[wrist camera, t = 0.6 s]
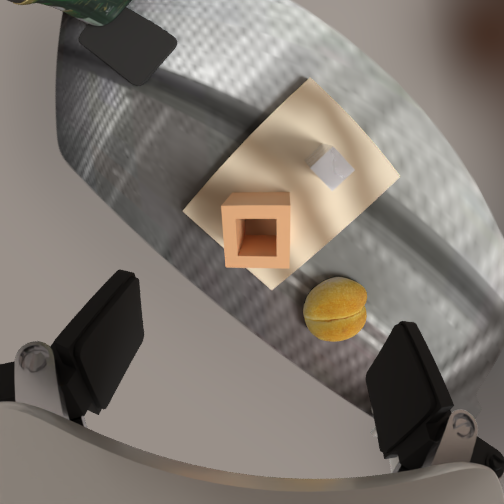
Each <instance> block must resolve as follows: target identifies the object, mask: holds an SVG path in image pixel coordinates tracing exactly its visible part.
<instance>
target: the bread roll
mask: <svg viewBox="0 0 504 504" xmlns="http://www.w3.org/2000/svg"><path fill="white" fill-rule="evenodd" d="M366 300H367V292H366V290H365V288H364V287H363V286H362V285H360V284H359V283H357V282H355V281H353V280H350V279H347V278H343V277H334V278H330V279H327V280H325V281H323V282H321V283H320V284H318V285H317V286H316V287H314V288H313V289H312V291H311V292H310V293H309V294H308V296H307V298H306V301H305V303H304V308H303V314H304V318H305V322H306V325H307V327H308V329H309V330H310V332H311V333H312V334H313V335H314V336H316V337H317V338H319V339H321V340H324V341H342V340H346V339H348V338H351V337H353V336H354V335H356V334H357V333H358V332H359V331H360V330H361V329H362V328H363V326H364V324H365V321H366V309H365V306H364V305H365V303H366Z"/></svg>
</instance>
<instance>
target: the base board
mask: <svg viewBox="0 0 504 504" xmlns="http://www.w3.org/2000/svg"><path fill="white" fill-rule="evenodd" d="M322 143H323V144H327V145H331V146H333V147H334V148H335V149H336V150H337V151H338V152H339V153H340V154H341V155H342V156H343V157H344V158H345V160H346V161H347V162H348V163H349V164H350V165H351V166H352V167H353V168H354V170H355V171H353V172H352V173H351V174H350V175H349V176H348V177H347V178H346V179H345V180H344V181H343V182H342V183H341V184H340V185H338V186H337V187H336V188H335V189H334V190H333V191H331V189H330V188H329V187H328V186H327V185H326V184H325V183H324V182H323V181H322V180H321V179H320V178H319V177H318V176H317V175H316V174H315V173H314V172H313V171H312V170H311V169H310V167H309V166H308V165H307V163H306V162H305V161H304V160H305V159H306V158H308V157H309V156H310V155H311V154H312V153H313V152H314V151H315V150H316V149H317V148H318V147H319V146H320V145H321V144H322ZM399 177H400V175H399V174H398V172H397V171H396V170H395V168H394V167H393V166H392V165H391V163H390V162H389V161H388V160H387V158H386V157H385V156H384V155H383V153H382V152H381V151H380V150H379V148H378V147H377V146H376V145H375V144H374V143H373V141H372V140H371V139H370V138H369V137H368V136H367V134H366V133H365V132H364V131H363V130H362V129H361V128H360V127H359V125H358V124H357V123H356V122H355V121H354V120H353V119H352V118H351V117H350V116H349V115H348V114H347V113H346V112H345V111H344V109H343V108H342V107H341V106H340V105H339V104H338V103H337V102H336V101H335V100H334V99H333V98H332V97H331V96H330V95H328V94H327V93H326V92H325V91H324V90H323V89H322V88H321V87H320V86H319V85H318V84H317V83H316V82H315V81H314V80H312V79H311V78H309V79H308V80H307V81H306V82H304V83H303V84H302V85H301V86H300V87H299V88H298V89H297V90H296V91H295V92H294V93H293V94H292V95H290V96H289V97H288V98H287V99H286V100H285V101H284V102H283V103H282V104H281V105H280V106H279V107H278V108H277V109H276V110H275V111H274V112H273V113H272V114H271V115H270V116H269V117H268V118H267V119H266V120H265V121H264V122H263V123H262V124H261V125H260V126H259V127H258V128H257V129H256V130H255V131H254V132H253V133H252V134H251V135H250V136H249V137H248V138H247V139H246V140H245V141H244V142H243V143H242V144H241V145H240V147H239V148H238V149H237V150H236V151H235V152H234V153H233V154H232V155H231V156H230V157H229V158H228V159H227V161H226V162H225V163H224V164H223V165H222V166H221V167H220V168H219V169H218V170H217V172H216V173H215V174H214V175H213V176H212V177H211V178H210V179H209V181H208V182H207V183H206V184H205V185H204V186H203V187H202V189H201V190H200V191H199V192H198V193H197V194H196V196H195V197H194V198H193V199H192V200H191V202H190V203H189V204H188V205H187V206H186V207H185V209H184V210H183V212H184V213H185V214H186V215H187V216H188V217H190V218H191V219H192V220H193V221H194V222H195V223H196V224H197V225H199V226H200V227H201V228H202V229H203V230H204V231H205V232H206V233H207V234H209V235H210V236H211V237H212V238H213V239H214V240H215V241H216V242H218V243H219V244H220V245H221V246H222V247H223V248H224V239H223V226H222V212H221V205H222V204H223V203H224V202H225V201H226V199H227V198H228V197H229V196H230V195H231V194H232V193H234V192H290V205H291V210H290V267H289V269H282V268H247V269H248V270H249V271H250V272H251V273H253V274H254V275H255V276H256V277H257V278H258V279H259V280H261V281H262V282H263V283H264V284H265V285H266V286H267V287H269V288H270V289H271V290H273V289H274V288H275V287H276V286H278V285H279V284H280V283H281V282H282V281H284V280H285V279H286V278H287V277H288V276H290V275H291V274H292V273H293V272H294V271H295V270H297V269H298V268H299V267H300V266H301V265H303V264H304V263H305V262H306V261H307V260H308V259H310V258H311V257H312V256H313V255H314V254H315V253H317V252H318V251H319V250H320V249H321V248H322V247H323V246H325V245H326V244H327V243H328V242H329V241H330V240H331V239H333V238H334V237H335V236H336V235H337V234H338V233H339V232H341V231H342V230H343V229H344V228H345V227H346V226H347V225H348V224H350V223H351V222H352V221H353V220H354V219H355V218H356V217H357V216H358V215H360V214H361V213H362V212H363V211H364V210H365V209H366V208H367V207H368V206H369V205H371V204H372V203H373V202H374V201H375V200H376V199H377V198H378V197H379V196H380V195H381V194H382V193H383V192H385V191H386V190H387V189H388V188H389V187H390V186H391V185H392V184H393V183H394V182H395V181H396V180H397V179H398V178H399ZM245 234H246V235H277V219H245Z"/></svg>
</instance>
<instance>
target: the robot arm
mask: <svg viewBox="0 0 504 504" xmlns="http://www.w3.org/2000/svg"><path fill="white" fill-rule="evenodd" d="M143 338H144V329H143V320H142V310H141V299H140V286H139V279H138V278H136V277H135V274H134V273H132V272H128V271H124V270H118V271H117V272H116V273H115V274H114V275H113V276H112V277H111V278H110V279H109V280H108V281H107V282H106V283H105V284H104V285H103V286H102V287H101V288H100V289H99V290H98V292H97V293H96V294H95V295H94V296H93V297H92V298H91V299H90V300H89V301H88V302H87V303H86V305H85V306H84V307H83V308H82V309H81V311H79V312H78V314H77V315H76V316H75V317H74V318H73V319H72V320H71V322H70V323H69V324H68V325H67V326H66V328H65V329H64V330H63V331H62V332H61V333H60V335H59V336H58V337H57V338H56V339H55V341H54V342H53V344H52V345H51V346H49V345H47V344H46V343H43V342H39V341H38V342H30V343H27V344H26V345H24V346H22V347H21V348H20V349H19V351H18V352H17V354H16V357H15V361H14V362H10V363H5V364H0V504H504V457H503V456H502V454H501V453H500V452H499V451H498V450H497V449H495V448H494V447H492V446H491V445H489V444H488V443H486V442H485V441H483V440H482V439H480V438H479V437H477V433H478V427H477V423H476V420H475V418H474V417H473V416H472V415H471V414H470V413H469V412H467V411H465V410H460V409H459V410H455V411H454V412H453V413H451V411H450V409H451V408H452V407H453V406H454V404H453V402H452V399H451V397H450V394H449V392H448V390H447V387H446V385H445V383H444V380H443V378H442V376H441V374H440V371H439V369H438V367H437V365H436V363H435V361H434V358H433V356H432V354H431V352H430V350H429V348H428V346H427V344H426V342H425V340H424V338H423V336H422V334H421V332H420V330H419V329H418V327H417V325H416V323H414V322H406V321H401V322H399V324H397V325H395V326H394V328H393V329H392V331H391V333H390V335H389V337H388V338H387V340H386V342H385V344H384V345H383V347H382V349H381V351H380V352H379V354H378V356H377V357H376V359H375V360H374V362H373V364H372V365H371V367H370V368H369V370H368V372H367V374H366V383H367V388H368V392H369V396H370V401H371V409H372V413H373V416H374V420H375V426H376V427H375V428H374V429H373V430H372V431H371V434H372V435H373V436H375V437H376V436H378V442H379V448H380V451H381V452H383V454H384V459H389V460H390V467H391V473H390V474H383V475H375V476H366V477H356V478H340V479H339V478H338V479H292V478H276V477H264V476H254V475H247V474H240V473H233V472H227V471H221V470H216V469H211V468H206V467H201V466H197V465H192V464H188V463H184V462H180V461H176V460H172V459H169V458H166V457H162V456H159V455H156V454H152V453H149V452H146V451H143V450H141V449H137V448H134V447H132V446H129V445H127V444H124V443H121V442H119V441H116V440H114V439H111V438H108V437H106V436H104V435H101V434H99V433H97V432H94V431H92V430H90V429H88V428H87V426H86V422H85V418H84V415H85V414H86V412H87V410H89V411H91V412H93V413H95V414H98V415H99V413H100V411H101V409H106V407H107V406H108V404H109V402H110V401H111V398H112V397H113V395H114V393H115V391H116V389H117V387H118V385H119V383H120V382H121V380H122V378H123V376H124V374H125V372H126V370H127V369H128V367H129V365H130V363H131V361H132V359H133V358H134V356H135V354H136V352H137V351H138V349H139V347H140V345H141V344H142V341H143Z"/></svg>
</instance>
